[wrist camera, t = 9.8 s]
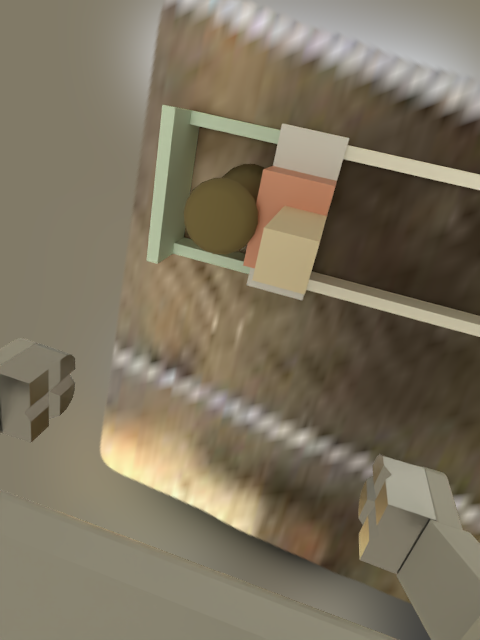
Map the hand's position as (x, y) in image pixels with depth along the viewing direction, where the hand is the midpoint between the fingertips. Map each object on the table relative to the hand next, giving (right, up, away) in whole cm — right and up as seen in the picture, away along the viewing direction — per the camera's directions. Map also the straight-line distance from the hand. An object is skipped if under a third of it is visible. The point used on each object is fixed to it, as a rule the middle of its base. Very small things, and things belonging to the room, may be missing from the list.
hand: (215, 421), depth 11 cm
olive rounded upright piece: (+1, +13, +27) cm, 30 cm away
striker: (+6, +12, +25) cm, 29 cm away
